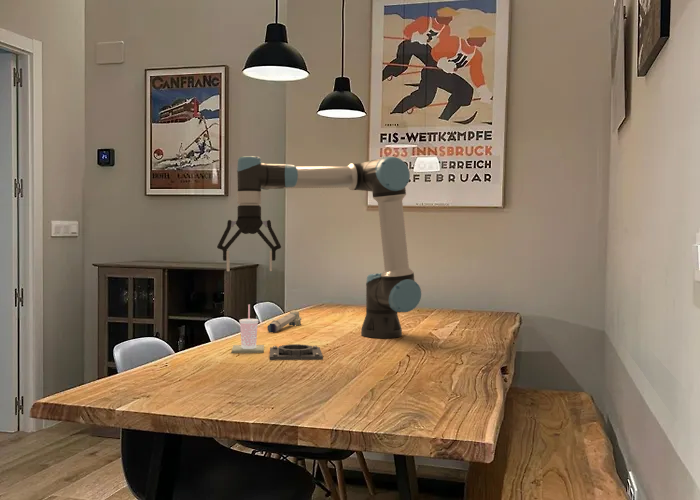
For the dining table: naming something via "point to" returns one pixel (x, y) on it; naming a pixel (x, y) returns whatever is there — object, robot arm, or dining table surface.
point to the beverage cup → (248, 331)
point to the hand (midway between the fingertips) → (249, 271)
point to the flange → (295, 352)
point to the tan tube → (285, 321)
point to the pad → (240, 350)
